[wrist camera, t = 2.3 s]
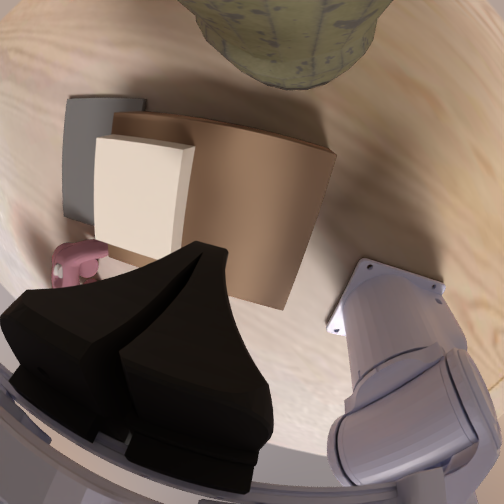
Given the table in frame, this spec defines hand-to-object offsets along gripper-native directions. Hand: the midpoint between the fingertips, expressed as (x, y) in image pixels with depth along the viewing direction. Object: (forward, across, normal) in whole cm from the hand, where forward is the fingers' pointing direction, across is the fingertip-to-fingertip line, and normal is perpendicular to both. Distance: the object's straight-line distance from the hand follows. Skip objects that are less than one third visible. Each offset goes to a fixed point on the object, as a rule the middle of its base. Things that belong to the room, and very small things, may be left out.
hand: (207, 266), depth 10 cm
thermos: (+11, 0, -12) cm, 16 cm away
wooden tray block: (+10, +2, +1) cm, 11 cm away
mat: (+11, +14, 0) cm, 17 cm away
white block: (+6, +6, 0) cm, 9 cm away
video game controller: (+11, +14, +12) cm, 21 cm away
